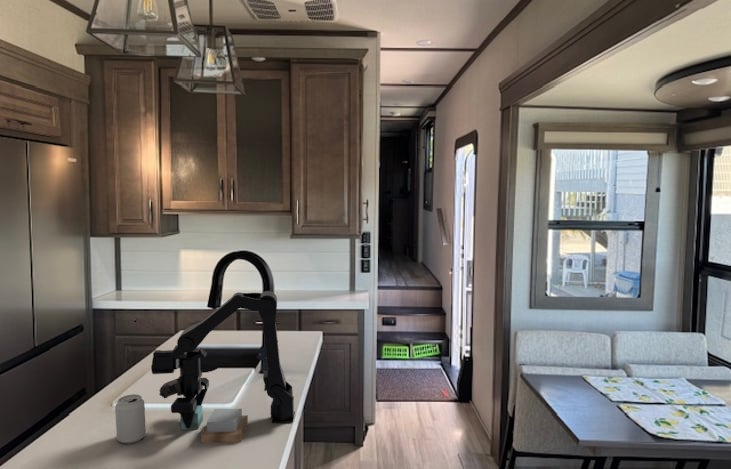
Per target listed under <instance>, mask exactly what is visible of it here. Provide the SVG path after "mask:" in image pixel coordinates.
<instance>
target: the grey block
mask: <svg viewBox="0 0 731 469" xmlns="http://www.w3.org/2000/svg"><path fill="white" fill-rule="evenodd" d="M242 412H243V411H242V408H214V409H213V411H212V413H211V415H210V416H209V418H208V419H207V421H206V425H207V432H236V430H237V428H238V426H239V423H240V421H241V419H242V416H243V413H242Z"/></svg>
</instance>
